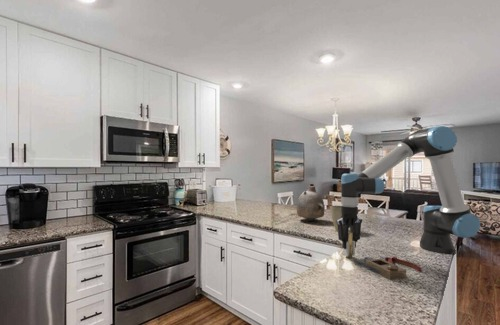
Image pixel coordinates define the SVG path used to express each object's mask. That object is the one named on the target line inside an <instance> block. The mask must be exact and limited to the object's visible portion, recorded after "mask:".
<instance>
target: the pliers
mask: <svg viewBox="0 0 500 325" xmlns="http://www.w3.org/2000/svg"><path fill="white" fill-rule="evenodd" d="M377 255H378V256H380V257H381V259H383V260H385V261H387V262H390V263H392V264H394V263H395V264H398V265H402V266H405V267H407V268H408V267H409V268H411V269H413V270H415V271H416V272H419V273H421V272H422V268H421V267H420V266H419V265H418V264H415V263H414V262H410V261H407V260H403V259H400V258H398V257H397V256H393V257H392V256H390V255H387V254H384V253H383V254H380V253H377Z"/></svg>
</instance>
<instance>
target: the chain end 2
mask: <svg viewBox="0 0 500 325" xmlns="http://www.w3.org/2000/svg"><path fill="white" fill-rule="evenodd" d="M380 263H381V264H383V265H378V264H380ZM366 264H367V265H369V266H371V267H373V268H375V269H377V270H379V271H380V274H379V275H380V276H382V277H384V278H385V279H388V280H389V281H391V280H399V279H405V278H407V269H405V268H403V267H401V266H399V265H396V264H394V263H393V264H392V263H390V262H387V261H385V259H383V258H382V257H381V258H380V257H379V258H373V259H371V260H366Z"/></svg>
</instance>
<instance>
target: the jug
mask: <svg viewBox="0 0 500 325" xmlns="http://www.w3.org/2000/svg"><path fill="white" fill-rule="evenodd" d="M296 213H297V215H298V217H301V218H304V219H306V220H308V221H309V222H312V221H315V220H316V219H319V218H323V217H324V215H325V202H324V200H323V196H321V194H320V193H319V192H318V191H316V183H314V182H313V183H309V184H308V189H307V190H306V191H305V190H304V191H303V192H302V193H301V194H299V197H298V199H297V203H296Z"/></svg>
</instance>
